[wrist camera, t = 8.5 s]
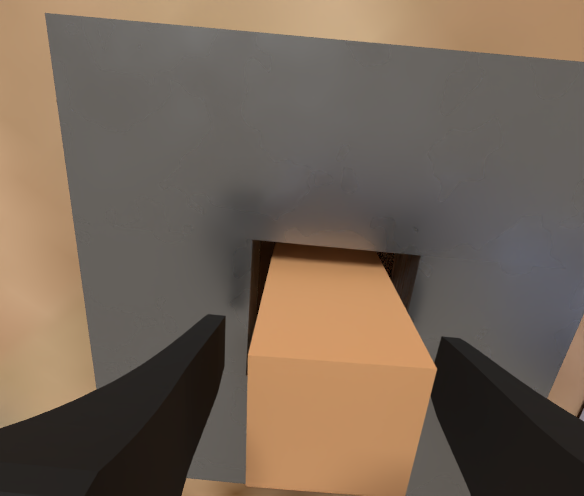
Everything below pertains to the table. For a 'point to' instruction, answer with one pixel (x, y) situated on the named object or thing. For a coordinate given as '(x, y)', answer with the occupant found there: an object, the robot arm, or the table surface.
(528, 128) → the collar
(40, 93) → the table surface
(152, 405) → the robot arm
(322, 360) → the tan square post
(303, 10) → the table surface
